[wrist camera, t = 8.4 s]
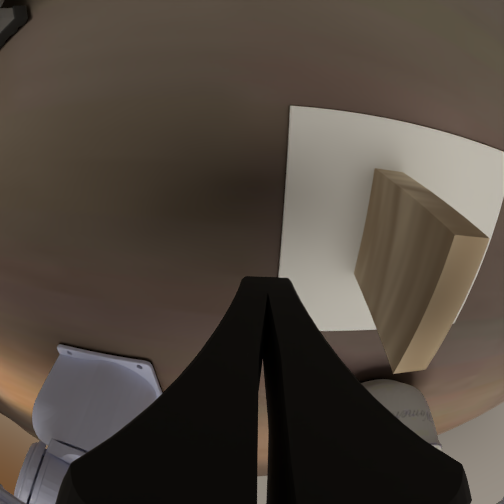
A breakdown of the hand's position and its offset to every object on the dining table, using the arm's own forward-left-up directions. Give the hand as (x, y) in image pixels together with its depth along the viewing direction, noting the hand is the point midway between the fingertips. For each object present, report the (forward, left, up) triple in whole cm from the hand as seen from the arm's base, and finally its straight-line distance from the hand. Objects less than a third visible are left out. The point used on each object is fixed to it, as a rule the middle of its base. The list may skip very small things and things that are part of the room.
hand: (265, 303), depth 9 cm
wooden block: (+6, 0, -6) cm, 9 cm away
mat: (+8, -1, -7) cm, 10 cm away
